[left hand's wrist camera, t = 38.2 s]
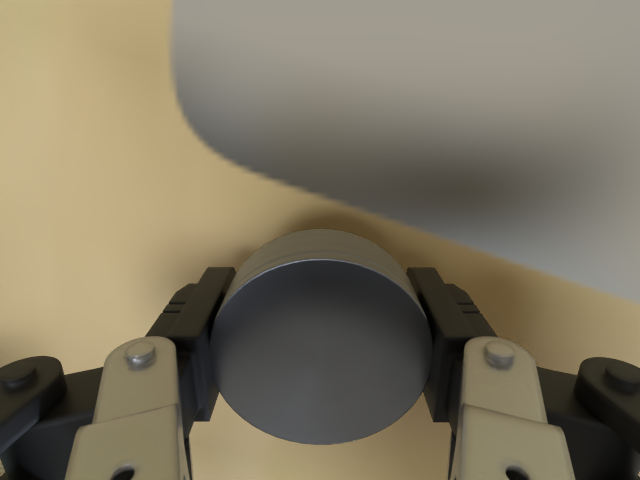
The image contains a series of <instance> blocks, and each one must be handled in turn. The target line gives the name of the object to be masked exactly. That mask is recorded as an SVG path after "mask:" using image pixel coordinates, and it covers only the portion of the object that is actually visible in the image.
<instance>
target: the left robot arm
mask: <svg viewBox="0 0 640 480" xmlns="http://www.w3.org/2000/svg"><path fill="white" fill-rule="evenodd" d="M235 275H236V271H235V269H234V267H208V268H207V269H206V271H205V273H204V274H203V276H202V278H201V279H200V281H199V282H198V284H188V285H186V286H185V287H183V288H182V289H180V290H179V291H177V292H176V293H175V294H174V296H173V297H172V299H171V300H170V302H169V304H167V306H166V307H165V309H164V310H163V313H161V314H160V316H159V317H158V319H157V320H156V322H155V323H154V324H153V326H152V327H151V329H150V330H149V332H148V333H147V334H146V336H145V337H142V338H138V339H134V340H131V341H129V342H126V343H124V344H122V345H120V346H119V347H117V348H116V349H114V350H113V351H112V352H111V353H110V354H109V355H108V356H107V358H106V360H105V363H104V367H101V368H97V369H92V370H87V371H82V372H77V373H72V374H67V375H64V372H63V368H62V365H61V362H60V361H59V360H58V359H56V358H54V357H49V356H36V357H30V358H25V359H21V360H18V361H15V362H12V363H10V364H8V365H5V366H3V367H1V368H0V459H1V462H2V464H3V467H4V469H5V473H4V474H3V475H2V476H1V477H0V480H193V468H192V456H191V444H190V438H189V433H190V431H191V428H192V425H193V423H194V421H210V418H211V415H212V412H213V409H214V406H215V403H216V400H217V397H218V394H219V390H218V388H217V386H216V384H215V381H214V379H213V372H212V364H211V356H210V347H209V338H210V333H211V329H212V326H213V323H214V320H215V318H216V315H217V313H218V311H219V309H220V307H221V304H222V302H223V300H224V298H225V296H226V293H227V291H228V289H229V287H230V285H231V282H232V280H233V279H234V277H235ZM406 275H407V276H408V278H409V280H410V282H411V284H412V287H413V289H414V291H415V293H416V295H417V298H418V300H419V302H420V304H421V306H422V309H423V311H424V313H425V315H426V318H427V320H428V323H429V325H430V328H431V332H432V337H433V353H432V361H431V369H430V376H429V380H428V382H427V384H426V386H425V389H424V390H423V393H424V396H425V399H426V402H427V405H428V408H429V411H430V414H431V417H432V420H433V422H449V423H450V426H451V429H452V431H451V438H450V444H449V456H448V468H447V480H640V477H639V476H638V473H639V471H640V368H638V367H636V366H634V365H631V364H629V363H626V362H623V361H620V360H616V359H611V358H604V357H594V358H589V359H586V360H584V361H583V362H582V363H581V365H580V368H579V371H578V375H573V374H568V373H563V372H558V371H553V370H548V369H544V368H540V367H537V366H536V363H535V360H534V358H533V356H532V355H531V354H530V353H529V352H528V351H527V350H526V349H524V348H523V347H521V346H520V345H518V344H516V343H514V342H511V341H509V340H506V339H502V338H498V336H497V335H496V334H495V332H494V331H493V329H492V328H491V327H490V325H489V324H488V322H487V321H486V320H485V318H484V317H483V315H482V314H480V311H479V310H478V308H477V307H476V305H474V303H473V301H472V300H471V298H470V297H469V296H468V294H467V293H466V292H465V291H463V290H462V289H460V288H458V287H457V286H455V285H454V284H444V282H443V280H442V279H441V277H440V276H439V274H438V273H437V271H436V269H435V268H408V269H407V272H406Z"/></svg>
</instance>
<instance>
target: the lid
mask: <svg viewBox="0 0 640 480" xmlns="http://www.w3.org/2000/svg"><path fill="white" fill-rule="evenodd" d="M209 347H210V356H211V364H212V372H213V379H214V381H215V384H216V386H217V388H218V390H219V392H220V393H221V395H222V396H223V398H224V399H225V401H226V402H227V403H228V404H229V406H230V407H231V408H232V409H233V410H234V411H235V412H236V413H237V414H238V415H239V416H241V417H242V418H243V419H244V420H246V421H247V422H248V423H250V424H251V425H253V426H254V427H256V428H258V429H260V430H262V431H263V432H265V433H268V434H270V435H273V436H275V437H278V438H281V439H284V440H288V441H292V442H297V443H303V444H314V445H329V444H339V443H345V442H350V441H355V440H358V439H361V438H364V437H368V436H370V435H372V434H374V433H377V432H379V431H381V430H383V429H384V428H386V427H388V426H390V425H391V424H393V423H394V422H395V421H397V420H398V419H399V418H401V417H402V416H403V415H404V414H405V413H406V412H407V411H408V410H409V409H410V408H411V407H412V406H413V405H414V403H415V402H416V401H417V400H418V398H419V397H420V395H421V394H422V392H423V390H424V389H425V386H426V384H427V382H428V380H429V376H430V369H431V361H432V353H433V337H432V332H431V328H430V325H429V323H428V320H427V318H426V315H425V313H424V311H423V309H422V306H421V304H420V302H419V300H418V298H417V295H416V293H415V291H414V289H413V287H412V284H411V282H410V280H409V278H408V276H407V275H406V273H405V271H404V270H403V268H402V267H401V266H400V264H399V263H398V262H397V261H396V260H395V259H394V258H393V257H392V256H391V255H390V254H389V253H388V252H387V251H386V250H384V249H383V248H381V247H380V246H379V245H377V244H376V243H374V242H372V241H370V240H368V239H366V238H364V237H361V236H359V235H356V234H353V233H349V232H345V231H341V230H333V229H309V230H301V231H297V232H293V233H289V234H286V235H283V236H281V237H278V238H276V239H274V240H272V241H270V242H268V243H267V244H265V245H263V246H262V247H261V248H259V249H258V250H257V251H255V252H254V253H253V254H252V255H251V256H250V257H249V258H248V259H247V260H246V261H245V262H244V263H243V264H242V266H241V267H240V268H239V270H238V271H237V273H236V275H235V277H234V279H233V280H232V282H231V285H230V287H229V289H228V291H227V293H226V296H225V298H224V300H223V302H222V304H221V307H220V309H219V311H218V313H217V315H216V318H215V320H214V323H213V326H212V329H211V333H210V338H209Z"/></svg>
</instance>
